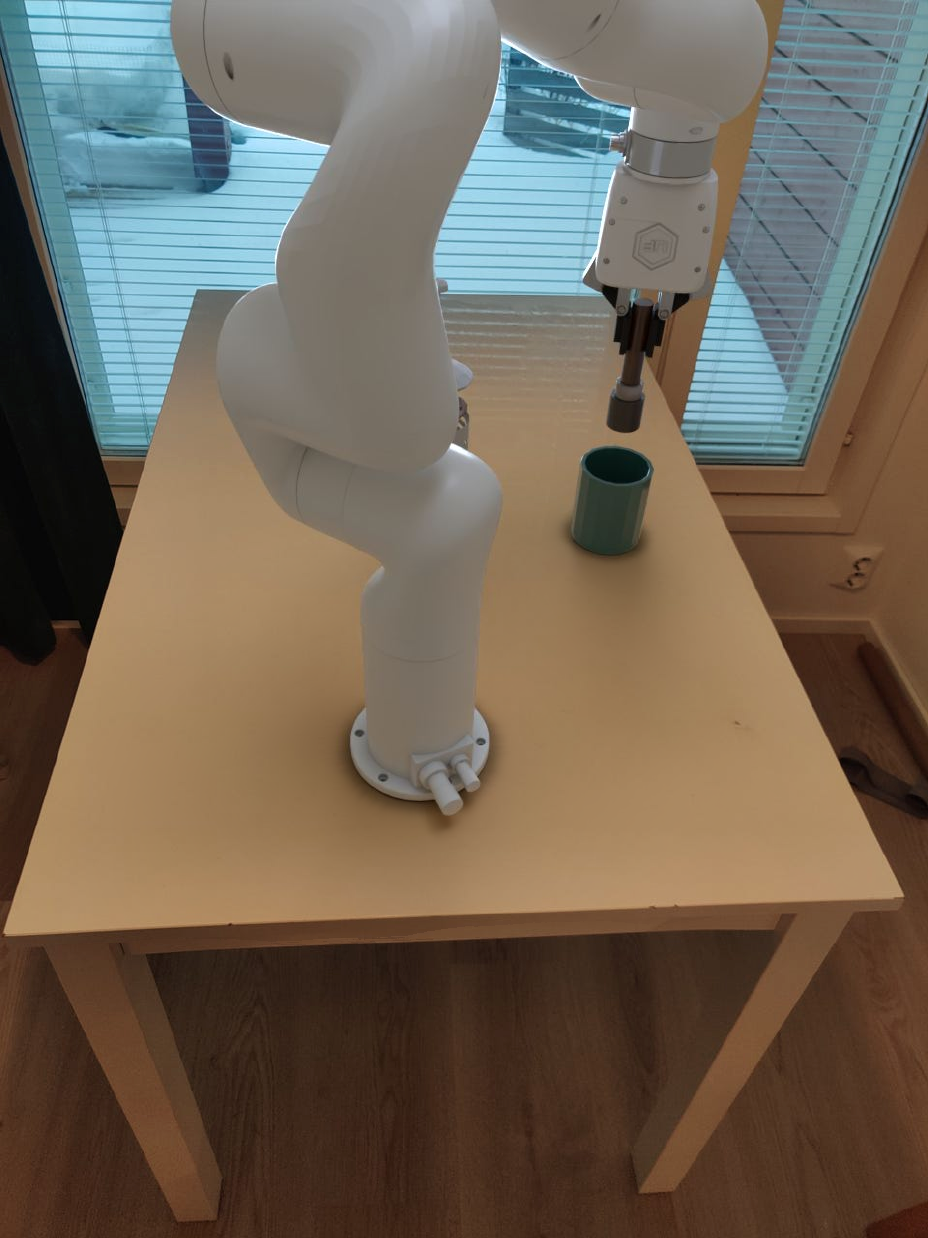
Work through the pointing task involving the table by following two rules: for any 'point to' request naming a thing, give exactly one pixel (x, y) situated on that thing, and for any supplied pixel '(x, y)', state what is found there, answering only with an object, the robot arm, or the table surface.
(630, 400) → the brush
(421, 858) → the table surface
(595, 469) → the cup
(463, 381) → the french press
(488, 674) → the table surface
